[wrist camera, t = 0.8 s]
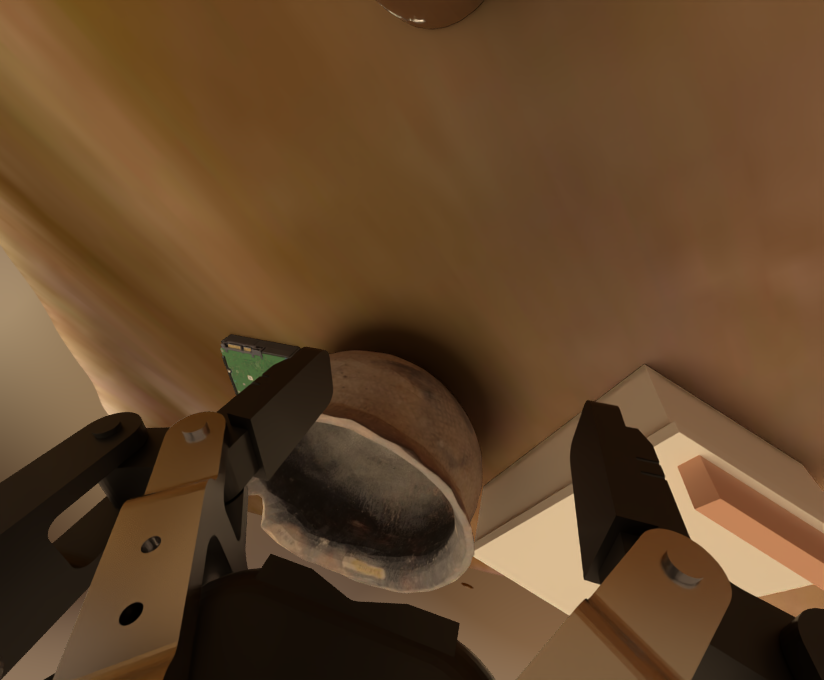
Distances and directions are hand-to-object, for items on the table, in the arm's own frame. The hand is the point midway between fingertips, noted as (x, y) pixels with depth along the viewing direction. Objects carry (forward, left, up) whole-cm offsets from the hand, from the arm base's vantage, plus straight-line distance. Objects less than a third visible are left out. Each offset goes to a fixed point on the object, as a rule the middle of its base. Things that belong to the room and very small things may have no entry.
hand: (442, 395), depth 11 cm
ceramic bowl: (+22, +1, -20) cm, 30 cm away
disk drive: (+32, -13, -21) cm, 40 cm away
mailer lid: (+15, +24, -13) cm, 31 cm away
